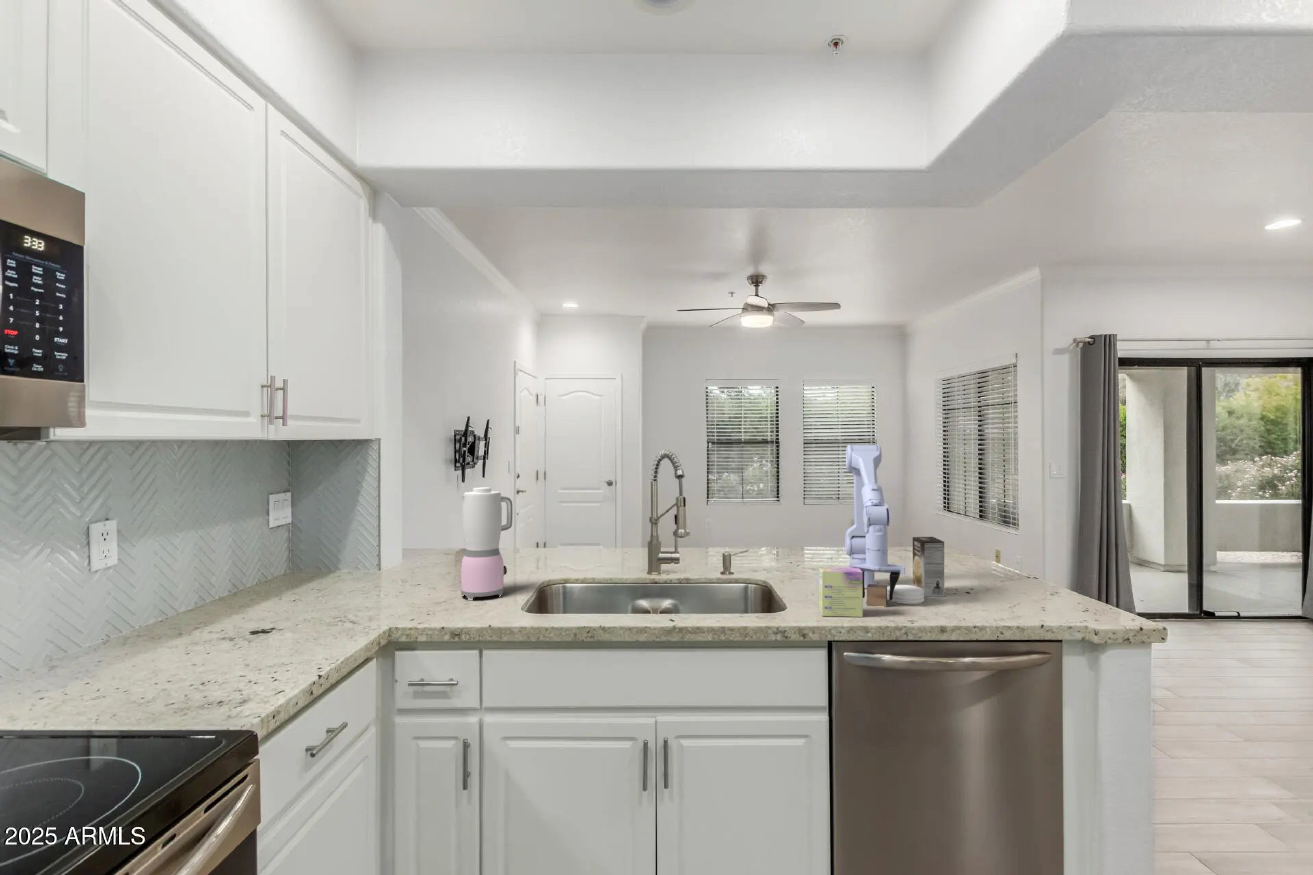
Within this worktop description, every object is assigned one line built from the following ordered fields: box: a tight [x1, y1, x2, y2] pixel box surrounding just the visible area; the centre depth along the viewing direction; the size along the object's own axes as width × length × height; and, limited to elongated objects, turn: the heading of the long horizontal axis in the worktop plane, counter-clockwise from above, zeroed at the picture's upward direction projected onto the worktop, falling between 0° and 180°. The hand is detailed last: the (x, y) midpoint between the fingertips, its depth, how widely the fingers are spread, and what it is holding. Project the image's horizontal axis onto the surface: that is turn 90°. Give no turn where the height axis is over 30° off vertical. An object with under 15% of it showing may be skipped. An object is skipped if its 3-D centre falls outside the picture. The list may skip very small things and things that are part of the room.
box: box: [818, 566, 864, 618], centre depth 172 cm, size 10×6×12 cm, turn 84°
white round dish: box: [887, 584, 925, 605], centre depth 187 cm, size 10×10×4 cm
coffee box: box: [912, 536, 945, 598], centre depth 195 cm, size 9×6×16 cm
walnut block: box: [866, 584, 888, 608], centre depth 182 cm, size 5×5×5 cm
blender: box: [460, 486, 513, 599], centre depth 196 cm, size 16×12×32 cm
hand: (876, 598), depth 182 cm, fingers open, 7 cm apart
